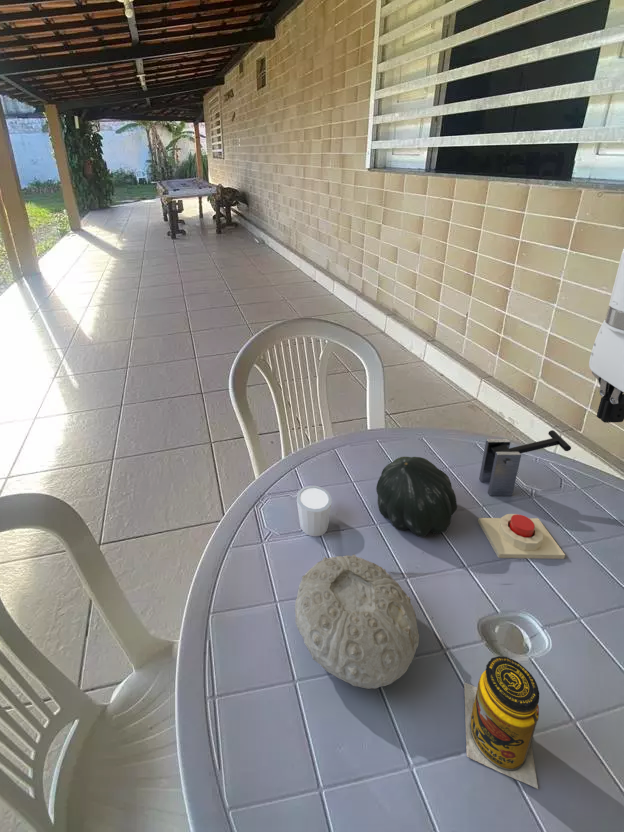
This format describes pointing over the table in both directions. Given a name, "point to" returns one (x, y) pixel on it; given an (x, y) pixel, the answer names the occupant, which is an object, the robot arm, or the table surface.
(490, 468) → the grey upright double plates
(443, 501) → the squash
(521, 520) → the button
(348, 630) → the decorative shell
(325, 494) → the white cylinder
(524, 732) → the condiment
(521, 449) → the press lever
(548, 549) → the control block
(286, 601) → the table surface
